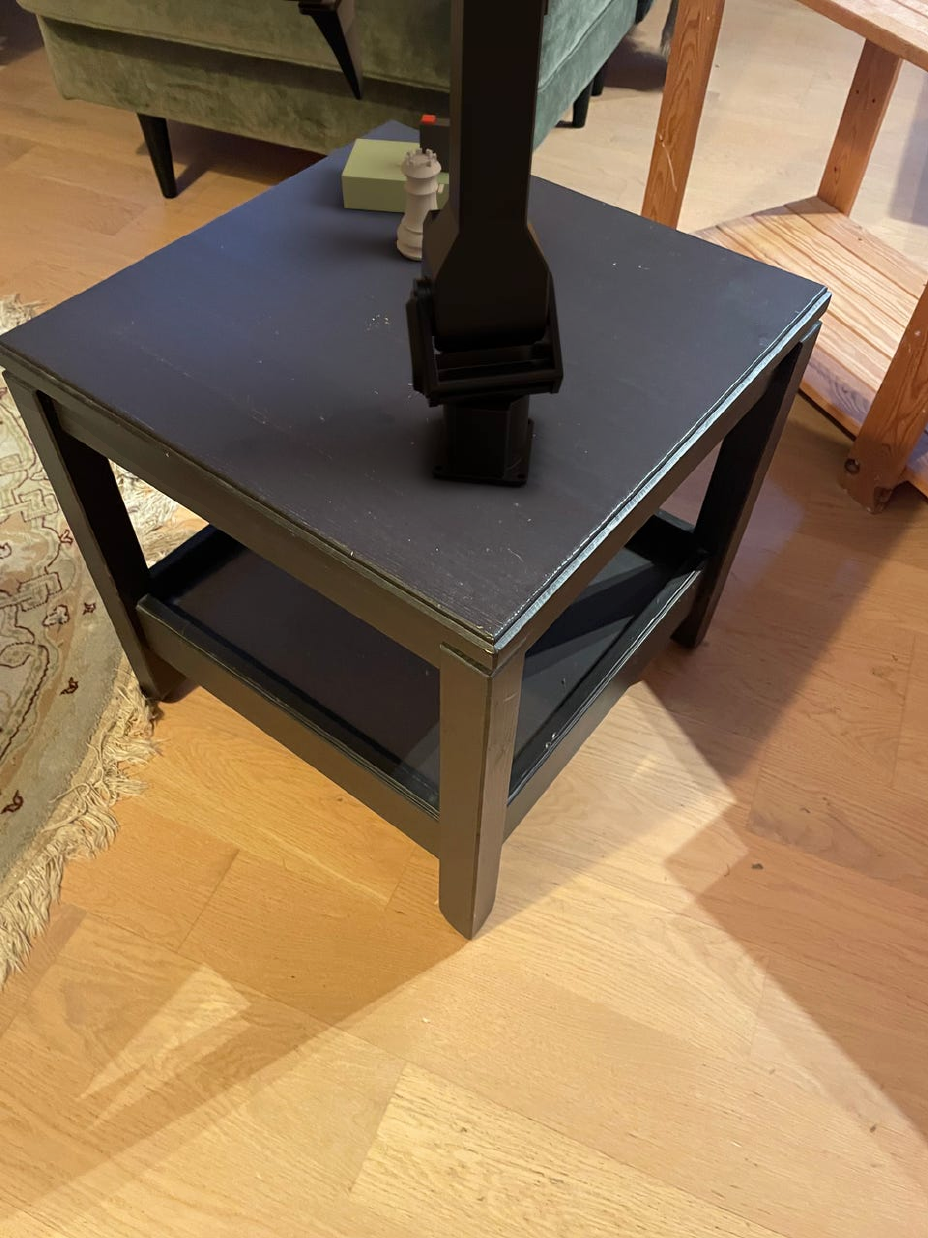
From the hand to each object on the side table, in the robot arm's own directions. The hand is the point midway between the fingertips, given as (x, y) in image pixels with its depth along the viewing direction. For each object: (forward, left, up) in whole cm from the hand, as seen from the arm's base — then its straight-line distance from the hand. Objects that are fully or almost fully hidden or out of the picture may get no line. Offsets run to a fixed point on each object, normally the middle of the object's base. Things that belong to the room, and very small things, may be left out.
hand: (419, 102), depth 71 cm
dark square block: (+8, -1, -9) cm, 12 cm away
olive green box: (+8, +1, -12) cm, 15 cm away
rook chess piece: (0, 0, -12) cm, 12 cm away
